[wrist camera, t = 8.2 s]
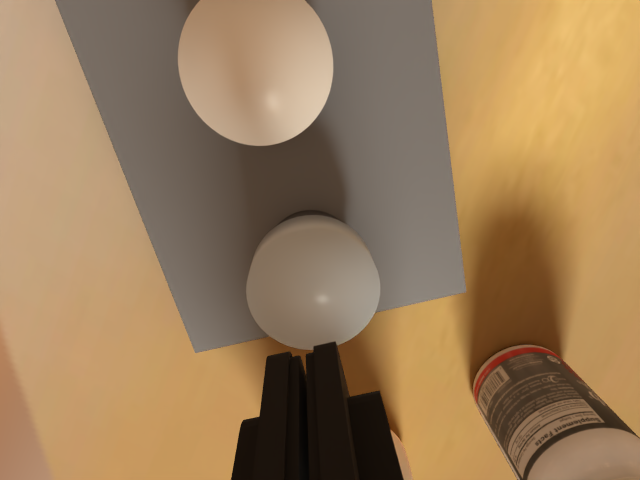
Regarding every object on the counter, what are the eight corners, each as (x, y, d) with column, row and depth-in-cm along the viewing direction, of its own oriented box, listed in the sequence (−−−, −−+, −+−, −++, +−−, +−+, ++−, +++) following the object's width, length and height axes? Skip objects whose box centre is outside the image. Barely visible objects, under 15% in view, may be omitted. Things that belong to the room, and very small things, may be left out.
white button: (312, -25, 14) (313, -41, 12) (342, 123, 16) (347, 127, 14) (171, 11, 14) (154, 0, 13) (216, 153, 16) (206, 160, 14)
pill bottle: (571, 397, 26) (727, 571, 16) (485, 430, 26) (587, 617, 17) (549, 325, 24) (710, 476, 14) (457, 363, 24) (554, 531, 15)
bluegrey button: (359, 201, 16) (366, 214, 14) (382, 311, 18) (390, 334, 16) (236, 231, 16) (228, 247, 15) (269, 336, 18) (266, 361, 16)
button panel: (372, -338, 14) (392, -458, 11) (452, 275, 22) (476, 304, 19) (-11, -231, 15) (-93, -318, 12) (203, 331, 23) (188, 369, 20)
